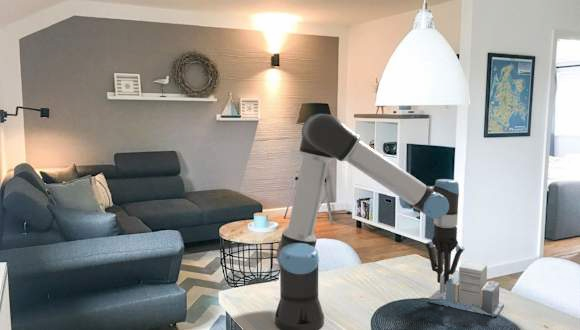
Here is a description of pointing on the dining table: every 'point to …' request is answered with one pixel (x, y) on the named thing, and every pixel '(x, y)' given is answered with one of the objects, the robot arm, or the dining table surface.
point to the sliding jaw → (452, 289)
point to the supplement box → (471, 283)
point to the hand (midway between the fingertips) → (442, 292)
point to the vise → (483, 298)
